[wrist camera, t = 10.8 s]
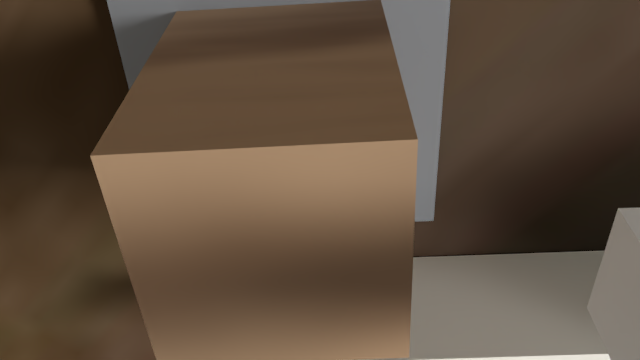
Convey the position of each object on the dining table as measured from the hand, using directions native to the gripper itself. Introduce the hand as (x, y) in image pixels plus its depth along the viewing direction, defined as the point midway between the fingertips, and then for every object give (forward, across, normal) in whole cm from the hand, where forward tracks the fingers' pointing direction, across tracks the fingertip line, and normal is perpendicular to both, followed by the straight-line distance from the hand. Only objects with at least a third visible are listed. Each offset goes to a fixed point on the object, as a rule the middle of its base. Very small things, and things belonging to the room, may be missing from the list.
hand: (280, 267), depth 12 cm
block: (+8, 0, 0) cm, 8 cm away
